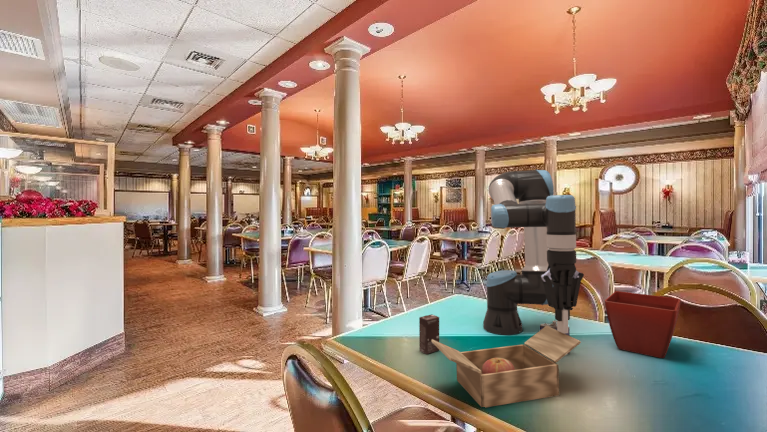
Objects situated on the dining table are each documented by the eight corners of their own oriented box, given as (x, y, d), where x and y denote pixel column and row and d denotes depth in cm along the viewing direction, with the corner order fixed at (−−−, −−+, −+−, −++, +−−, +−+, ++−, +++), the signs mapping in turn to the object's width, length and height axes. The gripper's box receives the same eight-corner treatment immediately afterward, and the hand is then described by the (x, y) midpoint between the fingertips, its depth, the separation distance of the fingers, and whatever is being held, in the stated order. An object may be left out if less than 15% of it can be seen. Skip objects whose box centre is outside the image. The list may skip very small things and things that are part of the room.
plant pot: (681, 346, 123) (681, 297, 123) (677, 365, 109) (676, 310, 109) (616, 334, 136) (615, 290, 136) (604, 350, 122) (603, 300, 122)
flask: (569, 352, 121) (568, 320, 121) (570, 355, 118) (569, 323, 118) (539, 348, 125) (539, 318, 124) (540, 352, 122) (539, 320, 122)
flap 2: (554, 361, 94) (579, 340, 96) (524, 342, 107) (546, 325, 109) (556, 363, 94) (581, 343, 96) (525, 344, 107) (547, 327, 109)
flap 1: (458, 350, 103) (432, 339, 101) (481, 371, 90) (451, 358, 88) (457, 353, 103) (430, 341, 101) (480, 374, 90) (450, 360, 88)
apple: (512, 400, 92) (511, 369, 92) (478, 391, 97) (477, 362, 97) (519, 385, 100) (518, 356, 99) (487, 378, 104) (486, 351, 104)
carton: (524, 370, 108) (523, 344, 108) (559, 395, 94) (558, 364, 94) (456, 380, 104) (456, 352, 103) (482, 407, 89) (481, 375, 89)
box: (427, 355, 122) (426, 319, 122) (419, 351, 126) (418, 316, 126) (440, 350, 125) (439, 316, 125) (432, 347, 129) (431, 313, 129)
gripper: (571, 247, 107) (572, 325, 107) (532, 249, 104) (534, 329, 105) (590, 249, 100) (592, 333, 100) (549, 251, 97) (551, 338, 97)
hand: (562, 331), depth 102 cm, fingers closed
